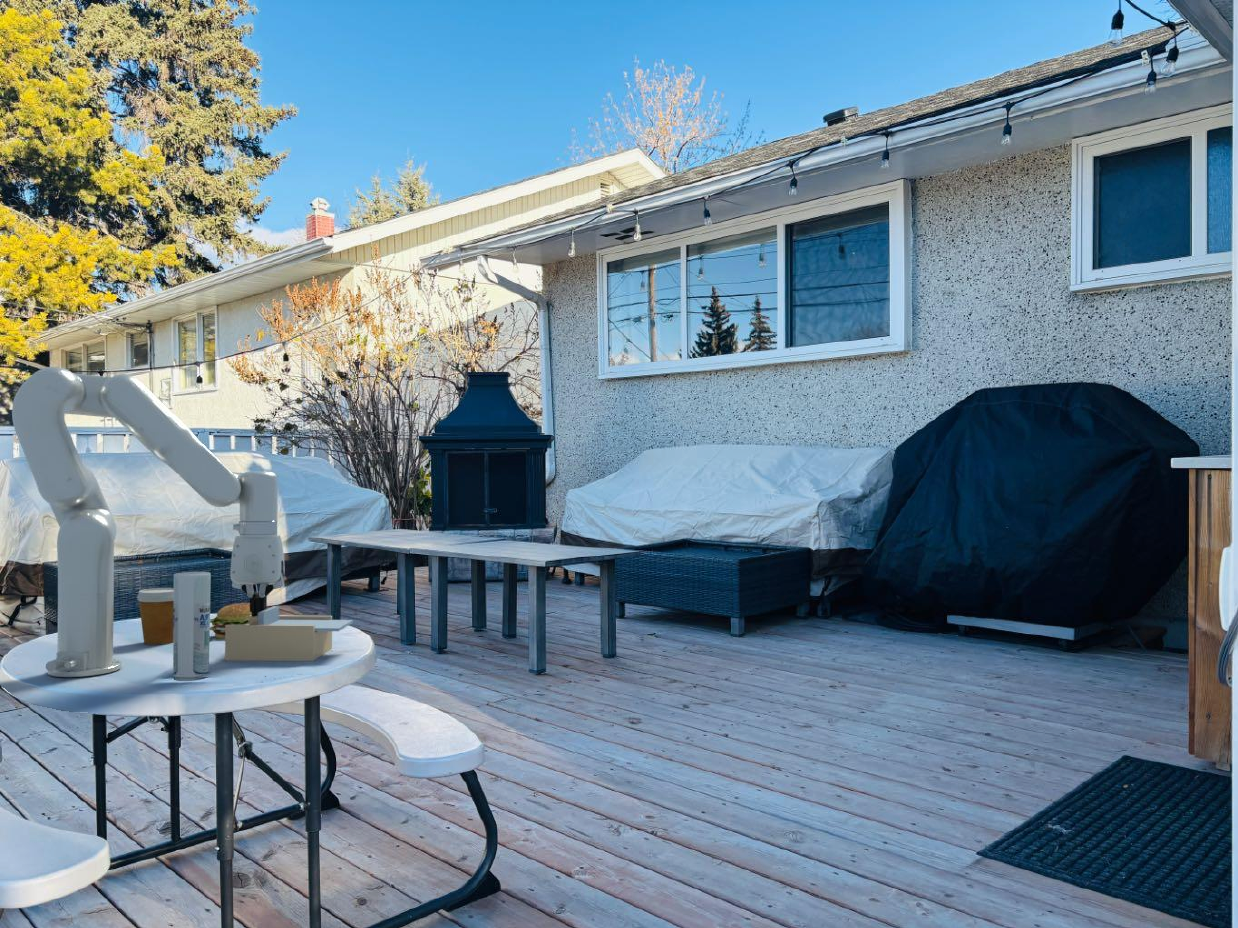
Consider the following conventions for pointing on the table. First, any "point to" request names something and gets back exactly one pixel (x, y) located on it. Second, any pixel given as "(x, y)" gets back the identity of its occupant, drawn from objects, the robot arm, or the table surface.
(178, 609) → the spray can
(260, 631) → the mailer box
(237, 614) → the food
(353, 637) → the table surface
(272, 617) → the lid
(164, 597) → the disposable coffee cup
